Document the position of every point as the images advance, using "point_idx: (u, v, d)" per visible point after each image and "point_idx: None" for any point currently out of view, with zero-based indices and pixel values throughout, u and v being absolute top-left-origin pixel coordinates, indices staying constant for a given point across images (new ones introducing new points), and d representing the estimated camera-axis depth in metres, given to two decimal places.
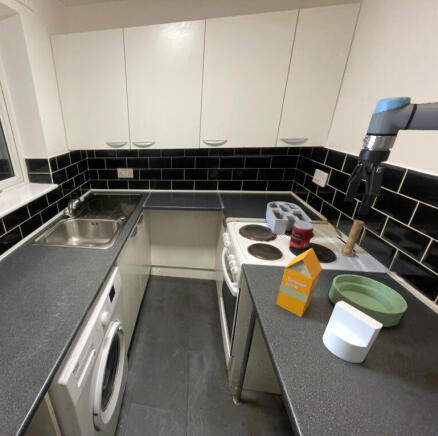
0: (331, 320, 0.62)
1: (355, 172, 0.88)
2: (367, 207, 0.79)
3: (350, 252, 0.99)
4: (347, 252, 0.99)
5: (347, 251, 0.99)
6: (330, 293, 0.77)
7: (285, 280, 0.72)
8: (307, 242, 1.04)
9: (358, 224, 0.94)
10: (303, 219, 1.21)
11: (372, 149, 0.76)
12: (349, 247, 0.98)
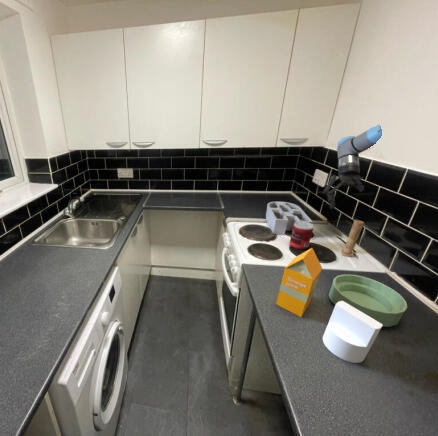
0: (331, 320, 0.62)
1: None
2: (331, 202, 1.04)
3: (350, 252, 0.99)
4: (347, 252, 0.99)
5: (347, 251, 0.99)
6: (330, 293, 0.77)
7: (285, 280, 0.72)
8: (307, 242, 1.04)
9: (358, 224, 0.94)
10: (303, 219, 1.21)
11: None
12: (349, 247, 0.98)
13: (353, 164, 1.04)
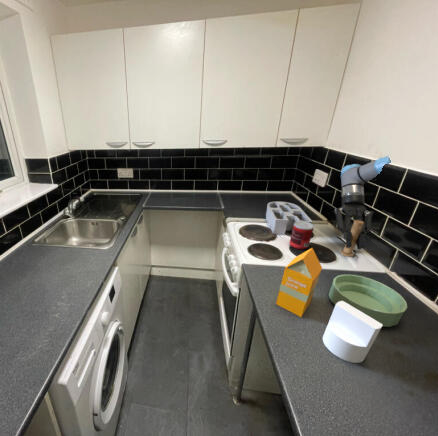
0: (331, 320, 0.62)
1: (365, 222, 0.98)
2: (348, 240, 0.96)
3: (350, 252, 0.99)
4: (347, 252, 0.99)
5: (347, 251, 0.99)
6: (330, 293, 0.77)
7: (285, 280, 0.72)
8: (307, 242, 1.04)
9: (358, 224, 0.94)
10: (303, 219, 1.21)
11: (343, 198, 1.05)
12: (349, 247, 0.98)
13: (357, 194, 0.99)
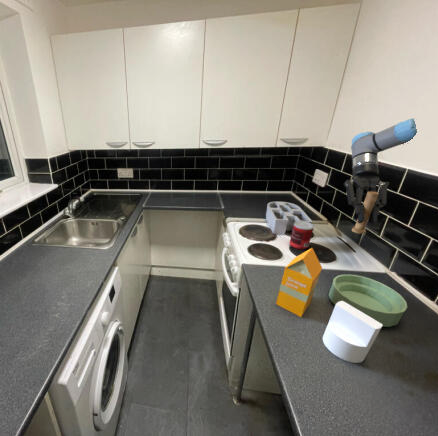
0: (331, 320, 0.62)
1: (379, 194, 0.87)
2: (360, 214, 0.86)
3: (362, 228, 0.88)
4: (359, 228, 0.88)
5: (359, 227, 0.88)
6: (330, 293, 0.77)
7: (285, 280, 0.72)
8: (307, 242, 1.04)
9: (372, 195, 0.83)
10: (303, 219, 1.21)
11: None
12: None
13: (370, 163, 0.88)
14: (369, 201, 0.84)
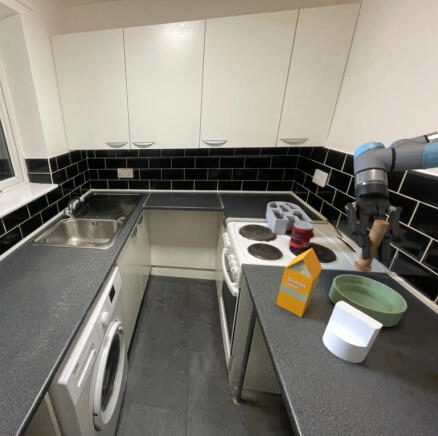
0: (331, 320, 0.62)
1: (389, 223, 0.69)
2: (365, 249, 0.67)
3: (368, 265, 0.69)
4: (363, 265, 0.70)
5: (364, 264, 0.69)
6: (330, 293, 0.77)
7: (285, 280, 0.72)
8: (307, 242, 1.04)
9: (381, 226, 0.64)
10: (303, 219, 1.21)
11: None
12: None
13: (378, 183, 0.69)
14: (377, 233, 0.65)
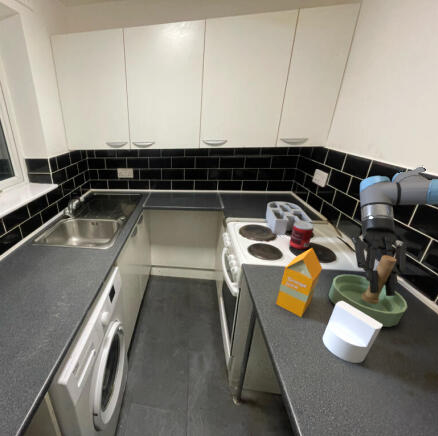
0: (331, 320, 0.62)
1: (396, 257, 0.71)
2: (373, 283, 0.69)
3: (375, 298, 0.71)
4: (371, 298, 0.72)
5: (371, 296, 0.72)
6: (330, 293, 0.77)
7: (285, 280, 0.72)
8: (307, 242, 1.04)
9: (388, 262, 0.66)
10: (303, 219, 1.21)
11: None
12: None
13: (384, 218, 0.72)
14: (384, 268, 0.67)
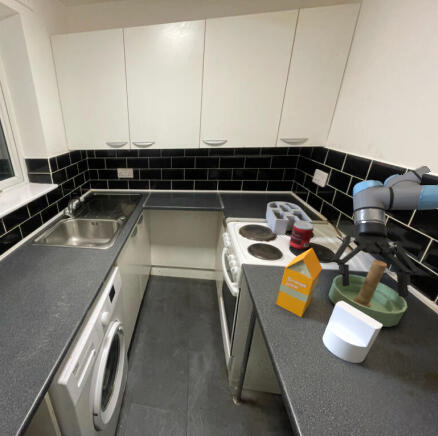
0: (331, 320, 0.62)
1: (398, 258, 0.71)
2: (344, 276, 0.72)
3: (367, 302, 0.72)
4: (362, 302, 0.72)
5: (363, 301, 0.72)
6: (330, 293, 0.77)
7: (285, 280, 0.72)
8: (307, 242, 1.04)
9: (379, 267, 0.67)
10: (303, 219, 1.21)
11: None
12: (365, 296, 0.71)
13: (376, 222, 0.72)
14: (375, 273, 0.68)
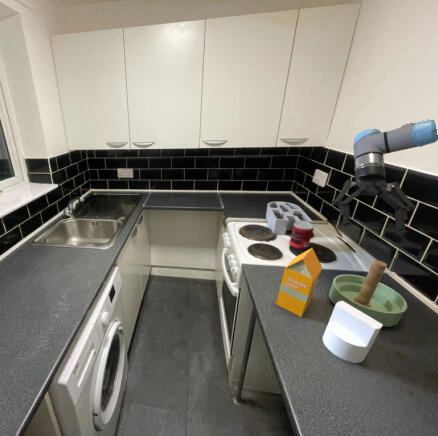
0: (331, 320, 0.62)
1: (396, 198, 0.75)
2: (345, 216, 0.77)
3: (367, 302, 0.72)
4: (362, 302, 0.72)
5: (363, 301, 0.72)
6: (330, 293, 0.77)
7: (285, 280, 0.72)
8: (307, 242, 1.04)
9: (379, 267, 0.67)
10: (303, 219, 1.21)
11: None
12: (365, 296, 0.71)
13: (375, 165, 0.77)
14: (375, 273, 0.68)
